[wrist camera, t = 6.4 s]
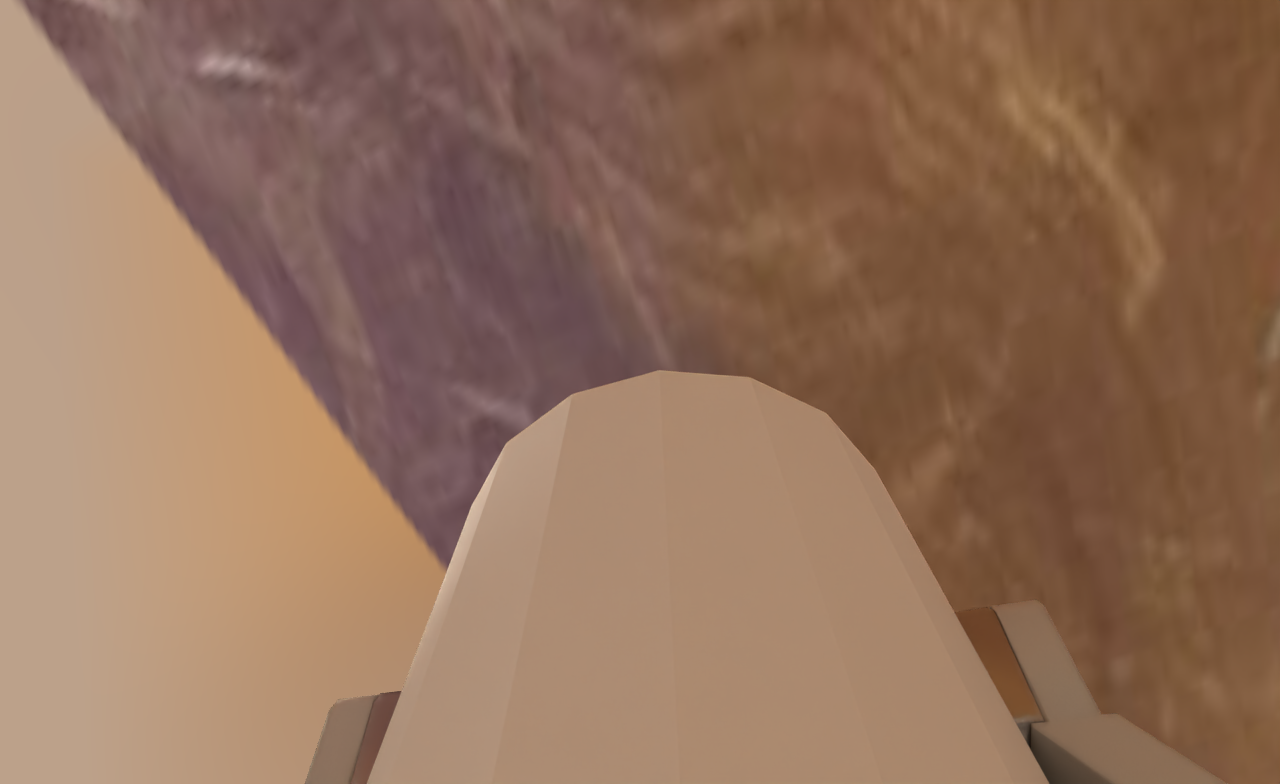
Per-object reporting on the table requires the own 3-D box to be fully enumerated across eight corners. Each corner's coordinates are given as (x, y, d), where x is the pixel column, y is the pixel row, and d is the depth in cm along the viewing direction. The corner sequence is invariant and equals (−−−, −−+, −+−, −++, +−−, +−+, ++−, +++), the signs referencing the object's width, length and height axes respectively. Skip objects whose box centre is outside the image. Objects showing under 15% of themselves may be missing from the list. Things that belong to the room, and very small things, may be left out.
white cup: (312, 470, 13) (30, 1072, 7) (811, 222, 11) (1032, 721, 5) (583, 785, 16) (558, 1392, 10) (1005, 627, 14) (1284, 1235, 8)
